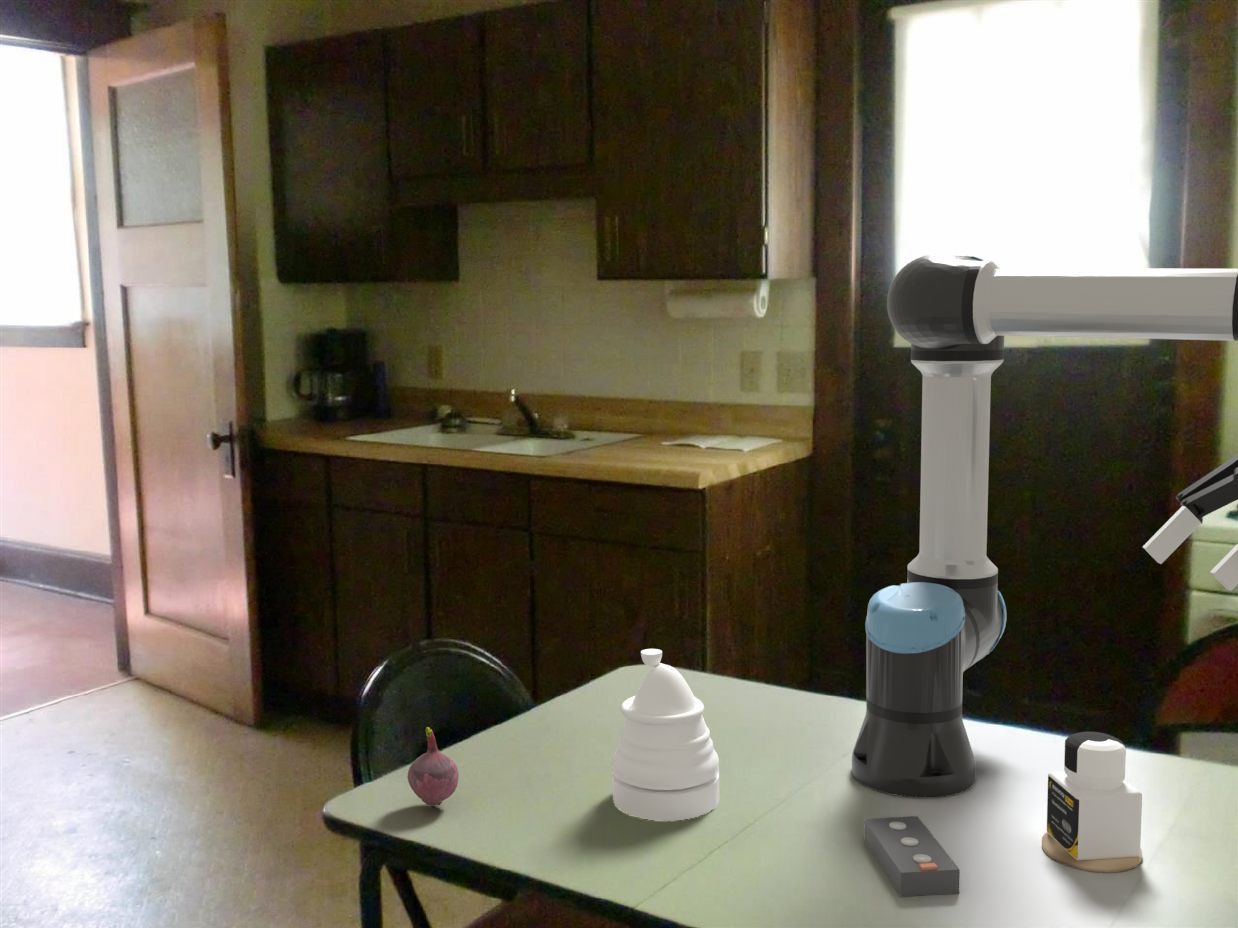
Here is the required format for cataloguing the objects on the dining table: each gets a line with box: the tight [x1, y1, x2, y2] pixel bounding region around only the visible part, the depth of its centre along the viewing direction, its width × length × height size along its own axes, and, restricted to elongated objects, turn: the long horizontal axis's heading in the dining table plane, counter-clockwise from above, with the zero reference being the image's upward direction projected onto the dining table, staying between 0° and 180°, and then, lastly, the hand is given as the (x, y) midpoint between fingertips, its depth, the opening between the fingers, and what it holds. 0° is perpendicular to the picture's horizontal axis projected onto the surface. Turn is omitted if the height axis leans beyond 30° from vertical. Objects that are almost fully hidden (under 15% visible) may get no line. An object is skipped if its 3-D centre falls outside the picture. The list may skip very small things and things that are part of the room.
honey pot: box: [611, 648, 720, 822], centre depth 144 cm, size 13×13×18 cm
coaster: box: [1041, 831, 1143, 873], centre depth 129 cm, size 10×10×1 cm
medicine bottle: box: [1046, 731, 1143, 861], centre depth 128 cm, size 7×7×12 cm
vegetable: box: [407, 726, 459, 807], centre depth 143 cm, size 6×6×10 cm
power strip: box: [863, 815, 961, 898], centre depth 126 cm, size 13×6×3 cm, turn 5°
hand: (1183, 568), depth 130 cm, fingers open, 13 cm apart
